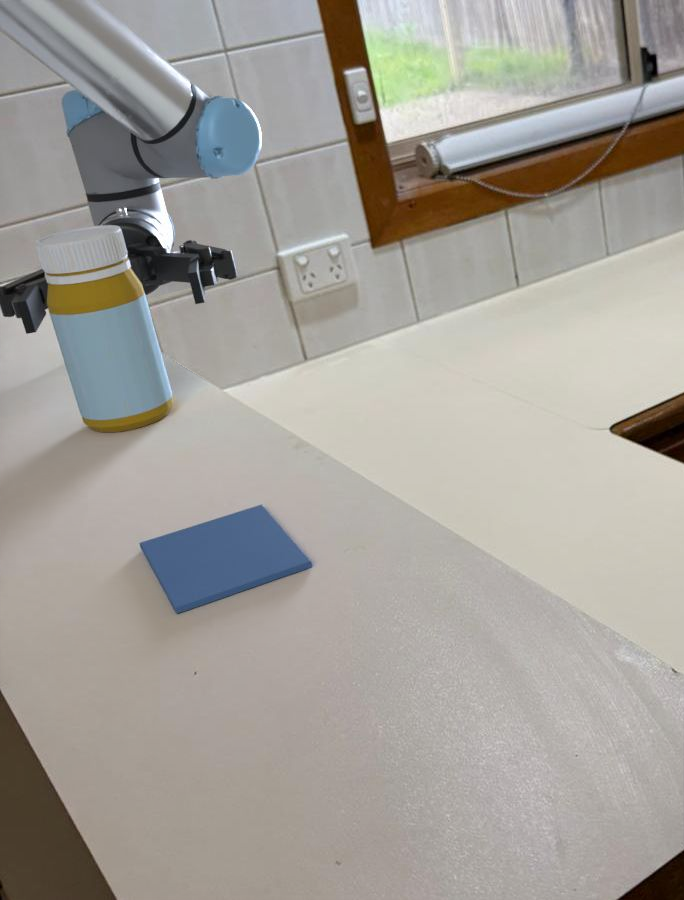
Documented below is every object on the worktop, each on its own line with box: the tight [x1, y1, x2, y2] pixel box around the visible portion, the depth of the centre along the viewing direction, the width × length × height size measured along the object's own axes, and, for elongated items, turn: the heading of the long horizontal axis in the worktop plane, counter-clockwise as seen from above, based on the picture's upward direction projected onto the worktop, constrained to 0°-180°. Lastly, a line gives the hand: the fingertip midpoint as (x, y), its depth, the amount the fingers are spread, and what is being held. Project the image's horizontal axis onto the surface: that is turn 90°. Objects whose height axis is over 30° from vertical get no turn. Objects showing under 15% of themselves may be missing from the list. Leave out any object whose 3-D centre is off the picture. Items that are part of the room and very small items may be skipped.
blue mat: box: [139, 504, 313, 615], centre depth 67 cm, size 10×8×1 cm
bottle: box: [34, 225, 175, 433], centre depth 89 cm, size 7×7×15 cm
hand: (112, 302), depth 96 cm, fingers open, 13 cm apart
